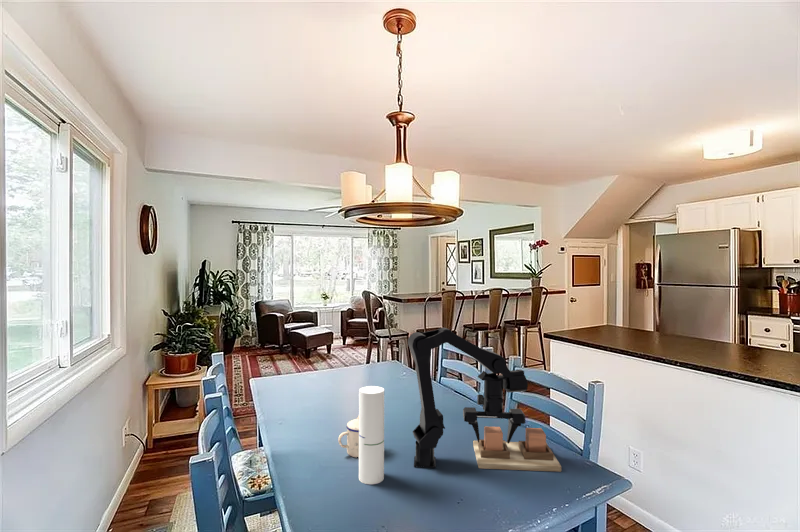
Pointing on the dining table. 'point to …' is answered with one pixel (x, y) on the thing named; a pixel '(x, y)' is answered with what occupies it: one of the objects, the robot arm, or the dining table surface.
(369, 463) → the cylindrical container
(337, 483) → the dining table surface
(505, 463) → the socket board
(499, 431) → the loose block
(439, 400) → the dining table surface
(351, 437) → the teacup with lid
